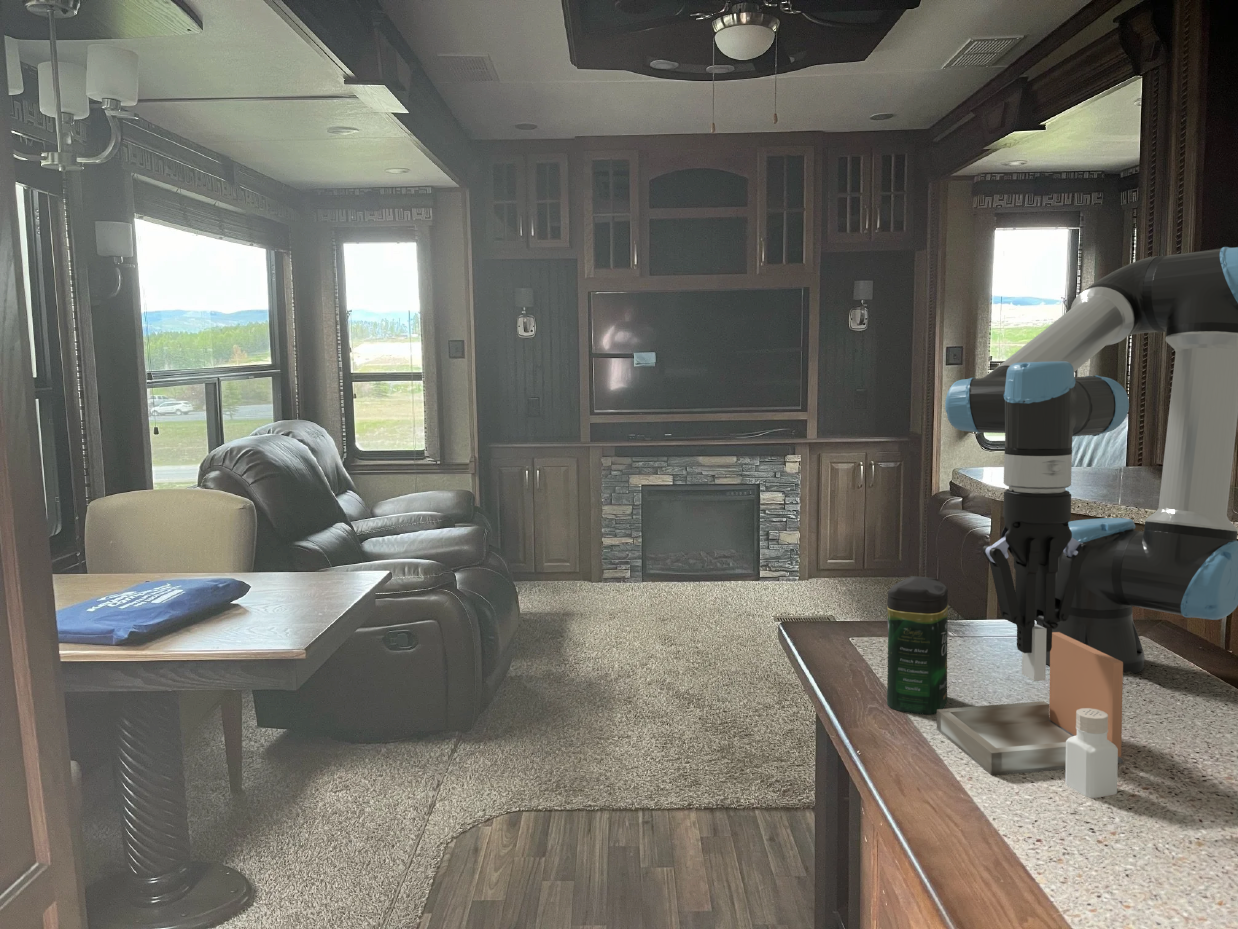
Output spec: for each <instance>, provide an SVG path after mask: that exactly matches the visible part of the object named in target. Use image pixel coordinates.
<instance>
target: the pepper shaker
mask: <svg viewBox="0 0 1238 929" xmlns="http://www.w3.org/2000/svg"><path fill="white" fill-rule="evenodd" d="M1076 729H1077V735H1076V736H1073V737H1070V738H1068V739H1067V741H1066V769H1065V782H1064V783H1065V785H1066V786H1067V787H1069V789H1072V790H1074V791H1075V792H1077V793H1079V794H1080V795H1082V796H1084V797H1085V798H1089V799H1097V798H1102V797H1107V796H1112V795H1116V794H1117V793H1118V764H1119V763H1118V749H1117V747H1116V745H1114V744H1113V743H1112V742H1110V741H1109V740H1107V733H1108V714H1107V713H1105V712H1104V711H1101V710H1097V709H1091V708H1081V709H1079V710H1077V711H1076Z"/></svg>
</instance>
